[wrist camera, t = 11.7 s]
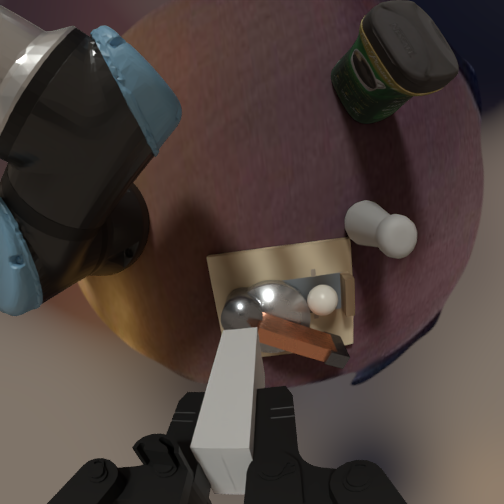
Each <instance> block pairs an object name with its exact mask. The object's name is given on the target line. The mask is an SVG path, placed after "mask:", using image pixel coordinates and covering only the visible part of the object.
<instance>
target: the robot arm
mask: <svg viewBox="0 0 504 504" xmlns="http://www.w3.org/2000/svg"><path fill="white" fill-rule="evenodd" d="M90 34H91V36H88V35H86V34H85V33H83V32H81V31H80V30H79V29H77V28H76V27H74V26H71V27H67V28H63V29H59V30H55V31H49V32H45V31H44V30H42V29H40V28H39V27H37V26H35V25H34V24H32V23H30V22H29V21H27V20H25V19H24V18H22V17H20V16H19V15H17V14H15V13H13V12H12V11H10V10H8V9H6V8H4V7H2V6H1V5H0V159H2V160H4V161H6V162H8V165H7V167H6V169H5V172H4V174H3V176H2V178H1V181H0V311H1V312H3V313H7V314H9V315H11V316H18V315H22V314H24V313H26V312H28V311H30V310H33V309H37V308H39V307H40V305H41V304H42V303H44V302H46V301H47V300H49V299H50V298H52V297H54V296H55V295H57V294H58V293H60V292H62V291H63V290H65V289H66V288H68V287H70V286H72V285H73V284H75V283H77V282H78V281H80V280H82V279H83V278H85V277H86V276H88V275H93V276H107V275H112V274H116V273H118V272H120V271H122V270H124V269H125V268H127V267H129V266H130V265H131V264H133V263H134V262H135V261H136V260H137V259H138V257H139V256H140V255H141V253H142V251H143V249H144V247H145V245H146V242H147V238H148V232H149V216H148V210H147V207H146V203H145V201H144V198H143V196H142V194H141V193H140V191H139V190H138V188H137V187H136V186H135V185H134V183H133V182H134V181H135V180H136V178H137V177H138V176H139V174H140V173H141V172H142V171H143V169H144V168H145V167H146V166H147V164H148V163H149V162H150V161H151V159H152V158H153V157H154V156H155V157H156V156H157V155H158V153H159V149H160V147H161V146H162V145H163V143H164V142H165V141H166V139H167V138H168V137H169V136H170V134H171V133H172V132H173V131H174V129H175V128H176V127H177V126H178V124H179V122H180V120H181V116H182V109H181V105H180V102H179V100H178V99H177V97H176V95H175V94H174V93H173V91H172V90H171V88H170V87H169V86H168V85H167V84H166V82H165V81H164V80H163V79H162V77H161V76H160V75H159V74H158V73H157V72H156V71H155V69H154V68H153V67H152V66H151V65H150V64H149V63H148V62H147V61H146V60H145V59H144V58H143V57H142V56H141V55H140V53H139V52H138V51H137V50H135V49H134V48H133V47H132V46H131V45H130V44H128V43H126V41H125V40H124V39H123V38H121V37H120V36H119V35H118V33H117V32H115V31H114V30H113V29H111V28H110V27H108V26H100V27H99V28H97V29H95V30H93V31H92V32H91V33H90ZM133 450H134V451H135V453H136V454H137V456H138V457H139V459H140V460H141V462H142V463H143V464H144V465H141V466H135V467H123V468H117V466H116V465H115V464H114V463H113V462H111V461H110V460H107V459H103V458H101V459H100V458H98V459H93V460H90V461H88V462H87V463H86V464H85V465H83V466H82V467H81V468H80V469H79V471H77V473H76V474H75V475H74V476H73V477H72V478H71V479H70V480H69V481H68V482H67V483H66V484H65V485H64V486H63V488H61V490H60V491H59V492H58V493H57V494H56V495H55V496H54V497H53V498H52V499H51V500H50V501H49V502H48V503H47V504H212V503H211V501H210V499H209V492H210V488H212V490H213V492H214V493H215V494H245V497H244V504H407V503H406V502H405V500H404V499H403V498H402V496H401V495H400V493H399V492H398V491H397V489H396V488H395V487H394V485H393V484H392V482H391V481H390V480H389V478H388V477H387V476H386V474H385V473H384V472H383V470H382V469H381V468H380V467H379V466H378V465H376V464H375V463H373V462H370V461H367V460H355V461H351V462H347V463H345V464H344V465H341V466H340V467H338V468H337V469H330V468H321V467H316V466H313V465H311V464H309V463H307V462H306V461H304V460H303V459H302V457H301V456H300V454H299V451H298V444H297V434H296V424H295V414H294V405H293V395H292V394H291V392H290V391H289V390H288V389H287V387H286V386H281V387H271V388H265V374H264V367H263V361H262V355H261V348H260V342H259V335H258V329H257V327H253V328H243V329H233V330H223V332H222V336H221V339H220V343H219V346H218V350H217V353H216V357H215V360H214V364H213V367H212V371H211V375H210V378H209V382H208V385H207V389H206V392H187V393H186V394H185V396H184V397H183V398H182V399H181V400H180V401H179V403H178V405H177V408H176V410H175V414H174V415H173V418H172V422H171V423H170V426H169V429H168V431H167V434H166V435H165V434H151V435H148V436H145V437H143V438H141V439H140V440H138V441H137V442H136V443H135V445H134V446H133Z"/></svg>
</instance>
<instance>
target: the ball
mask: <svg viewBox="0 0 504 504" xmlns="http://www.w3.org/2000/svg"><path fill="white" fill-rule="evenodd" d="M307 303H308V307H309V309H310V310H311V311H312V312H313V313H314V314H316V315H320V316H325V315H328V314H330V313H332V312H333V311H334V310H335V308H336V307H337V304H338V296H337V293H336V291H335V290H334V289H333V288H332V287H330V286H328V285H318V286H316V287H314V288H313V289H312V290H311V291H310V292H309V294H308V297H307Z"/></svg>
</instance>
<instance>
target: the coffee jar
mask: <svg viewBox="0 0 504 504" xmlns="http://www.w3.org/2000/svg"><path fill="white" fill-rule="evenodd" d="M458 70H459V69H458V63H457V60H456V58H455V55H454V54H453V52H452V50H451V48H450V46H449V45H448V43H447V41H446V40H445V38H444V36H443V35H442V33H441V32H440V30H439V29H438V28H437V26H436V25H435V24H434V22H433V21H432V19H431V18H430V17H429V16H428V15H427V14H426V13H425V12H424V11H423V10H422V9H421V8H420V7H419V6H417V5H416V4H415V3H414V2H412V1H401V0H397V1H387V2H383V3H380V4H378V5H377V6H375V7H374V8H372V9H371V11H370V12H369V13H368V14H367V15H366V16H364V18H363V19H362V21H361V24H360V29H359V35H358V38H357V40H356V41H355V43H354V44H353V46H352V47H351V48H350V49H349V51H348V52H347V53H346V54H345V55H344V56H343V57H342V58H341V59H340V61H339V62H338V63H337V64H336V65H335V67H334V68H333V70H332V72H331V80H332V83H333V86H334V88H335V91H336V93H337V95H338V97H339V98H340V100H341V102H342V104H343V106H344V107H345V109H346V110H347V112H348V113H349V115H350V116H351V117H352V118H353V119H354V120H356V121H358V122H360V123H364V124H369V123H374V122H378V121H381V120H383V119H385V118H387V117H389V116H390V115H392V114H393V113H394V112H396V111H397V110H398V109H399V108H400V107H401V106H402V105H403V104H404V103H406V102H407V101H408V100H409V99H410V98H412V97H413V96H423V95H428V94H431V93H434V92H436V91H438V90H441V89H442V88H443V87H444V86H446V85H447V84H448V83H449V82H450V81H451V80H453V79H454V78H455V76H456V75H457V74H458Z"/></svg>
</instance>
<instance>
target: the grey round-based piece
mask: <svg viewBox="0 0 504 504" xmlns="http://www.w3.org/2000/svg"><path fill="white" fill-rule="evenodd" d="M310 321H311V315H310V310H309V307H308V304H307V301H306V299H305V297H304V295H303V294H302V293H301V292H300V291H299V290H298V289H297V288H296V287H295V286H293V285H291V284H289V283H287V282H284V281H280V280H265V281H261V282H258V283H256V284H254V285H252V286H250V287H249V288H248V287H240V288H236V289H234V290H233V291H232V292H230V294H229V295H228V297H227V299H226V302H225V305H224V308H223V311H222V314H221V324H222V327H223V329H224V330H233V329H243V328H253V327H257V329H258V335H259V342H260V348H261V352H265V353H278V352H283V351H289V352H292V353H295V354H299V355H302V356H305V357H309V358H312V359H316V360H320V361H323V362H324V363H325V364H327V365H330V366H334V367H338V368H342V369H343V368H344V366H345V365H346V363H347V361H348V360H349V358H350V356H349V354H348V352H347V350H346V348H345V345H344V343H343V341H342V339H341V337H340V336H338V335H335V334H332V333H329V332H325V331H324V332H321V331H318V330H315V329H312V328H309V326H310Z"/></svg>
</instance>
